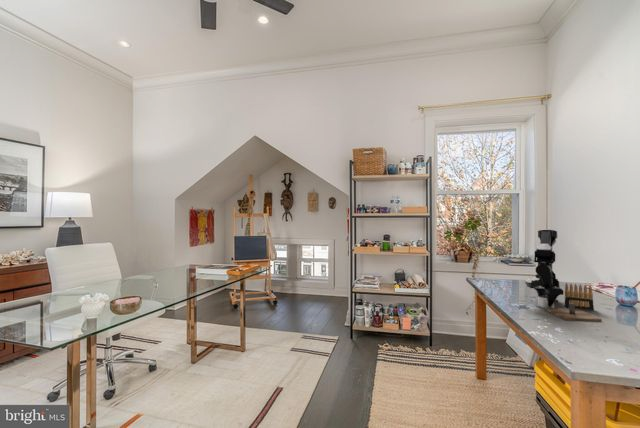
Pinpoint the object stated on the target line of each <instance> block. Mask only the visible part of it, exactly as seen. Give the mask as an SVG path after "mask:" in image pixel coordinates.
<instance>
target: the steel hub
mask: <svg viewBox="0 0 640 428" xmlns="http://www.w3.org/2000/svg"><path fill="white" fill-rule="evenodd" d="M537 307H539V308H542V309H546V308H555V302H554V303H553V304H552V306H548V301H547V296H546V295H538V294H537Z"/></svg>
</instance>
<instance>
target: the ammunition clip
mask: <svg viewBox="0 0 640 428" xmlns="http://www.w3.org/2000/svg"><path fill="white" fill-rule="evenodd" d="M564 286H565V287H564V307H565V308H569V303H574V304H575V309H580V310H588V311H595V307H594V294H593V293H594V292H593V288H592V286H591V284H589V287H588V288H587V284H584V285H582V284H581V283H580V284H579V286H578V285H577V283H575V284H574V287H573V283H570V284H569V285H568V282H565V285H564Z"/></svg>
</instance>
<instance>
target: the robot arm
mask: <svg viewBox="0 0 640 428" xmlns="http://www.w3.org/2000/svg"><path fill="white" fill-rule="evenodd" d="M537 238H538V239H539V240H540V241H539V242H540V243H539V245H537V246H536V249H535V250H534V257H533V258H534V259H533V261H534V263H537V266H536V267H535V272H536V274H535V277H532V278H529V279H526V280H524V283H525V285H526V286H527V287H528V288H529V289H533V290H535V291H536V293H537V296H538V295H546V296H547V301H548V306H552V304H553V303H554V304H555V302H559V300H558V299H557V298H558V297H559V296H563V295H564V290H563V289H562V288H560V281H559V280H558V278H557V275H556V274H555V272H554V271H553V264H554V263H555V262H556V253H555V251H554V250H553V246H554V245H555V244H556V242H557V239H558V231H557V230H555V229H550V228H542V229H540V230H538V231H537Z"/></svg>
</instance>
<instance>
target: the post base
mask: <svg viewBox="0 0 640 428" xmlns="http://www.w3.org/2000/svg"><path fill="white" fill-rule="evenodd" d="M545 309H546V310H545V311H546V312H549V313H551V314H553V315H554V316H556V317H558V318H559V319H561V320H564V321H570V322H573V321H576V322H596V323H597V322H599V323H600V322H602V321H603V320H602V319H601V318H600V317H597V316H596V315H593V314H592V313H589V312H586V311H584V310H583V309H577V308H575V304H574V303H570V302H569V307H568V308H558V307H557V308H555V307H554V308H545Z"/></svg>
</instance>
